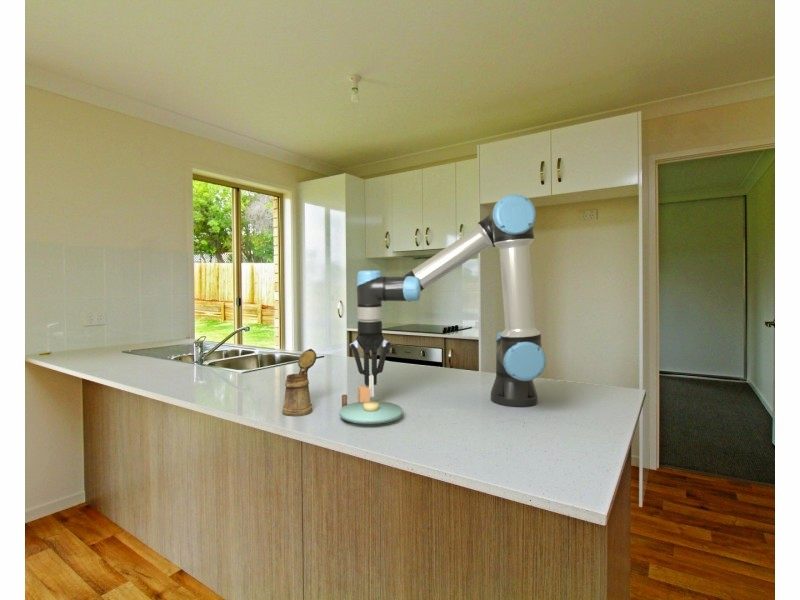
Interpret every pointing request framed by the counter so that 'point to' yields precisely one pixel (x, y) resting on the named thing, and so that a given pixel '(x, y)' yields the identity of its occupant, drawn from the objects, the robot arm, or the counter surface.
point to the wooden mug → (299, 387)
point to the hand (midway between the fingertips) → (370, 395)
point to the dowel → (344, 400)
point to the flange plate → (370, 416)
